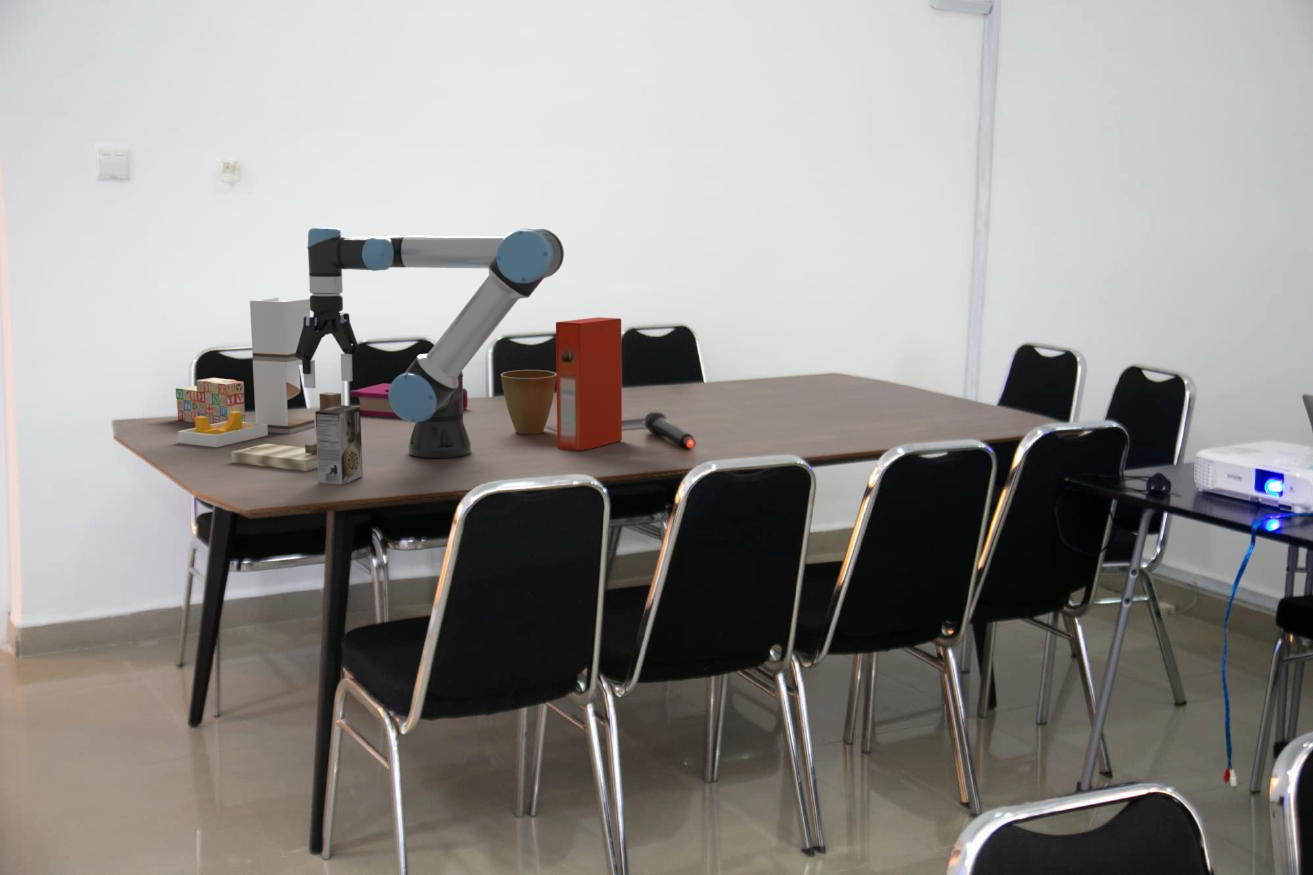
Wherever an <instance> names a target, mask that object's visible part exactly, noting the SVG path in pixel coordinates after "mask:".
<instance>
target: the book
mask: <svg viewBox="0 0 1313 875" xmlns="http://www.w3.org/2000/svg"><path fill="white" fill-rule="evenodd" d="M391 384H392V383H380V384H375V385H371V386H367V387H363V388H362V387H361V388H359V389H352V390H349V396H350V397H353V398H358V399H359V406H358V407H360V416H374V417H376V416H377V417H386V418H388V417H389V418H400V417H399V416H398V415H396V413H395V412H394V411H393V409H392V408H391V406H390V403H389V397H388V393H389V388H390V385H391ZM468 398H469V397H468V391H467V389H466V388H464V387H463V412H464V411H466V410H467V409H468Z"/></svg>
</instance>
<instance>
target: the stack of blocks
mask: <svg viewBox="0 0 1313 875" xmlns="http://www.w3.org/2000/svg"><path fill="white" fill-rule="evenodd" d="M195 382H196V385H187V386H183V387H175V398H176V409H177V420H178V421H184V422H188V423H194V424H195V417H198V416H204V417H208V422H209V424H210V425H211V424H216V423H221V422H226V421H227V420H228V418H229V412H233V411H237V412H241V415H242V422H246V414H245V413H246V411H245V410H246V409H245V384H244V381H240V380H239V381H238V380H236V379H227V378H226V379H225V378H219V377H210V378H203V379H196V381H195Z"/></svg>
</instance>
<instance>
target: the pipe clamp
mask: <svg viewBox="0 0 1313 875" xmlns="http://www.w3.org/2000/svg"><path fill="white" fill-rule="evenodd" d="M194 425H195V428H196V433H205V434H214V435H217V434H221V433H226V432H230V431H235V430H240V429H242V415H241V412H237V411H233V412H229V418H228V420H227V422H226V424H225V425H224V426H223V427H221V428H219V429H214V428H212V427H211V426H210V424H209V422H208V417H204V416H198V417H195V423H194Z"/></svg>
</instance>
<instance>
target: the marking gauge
mask: <svg viewBox="0 0 1313 875" xmlns="http://www.w3.org/2000/svg"><path fill="white" fill-rule="evenodd" d="M318 396H319V410H322V409H325V408H328V407H332V406H335V405H342V393H339V392H329V391H327V392H322V393H319V395H318ZM304 448H305V453H309V454H314V453H317V441H314V442H310V443H305V444H304Z"/></svg>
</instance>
